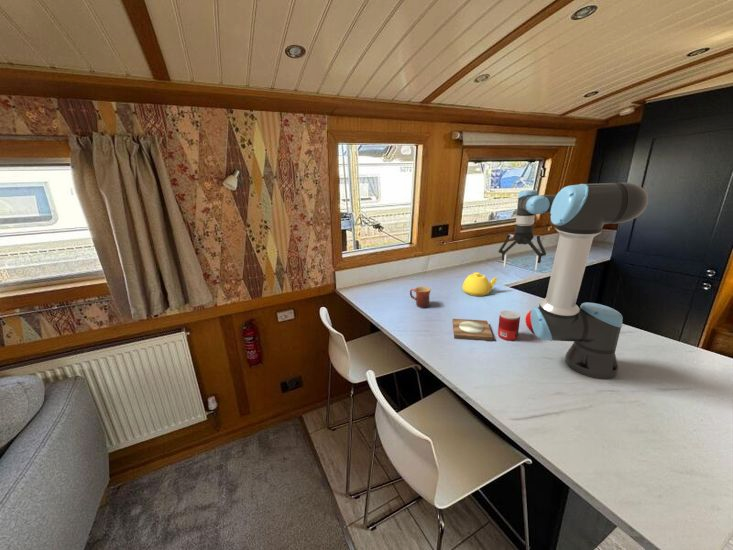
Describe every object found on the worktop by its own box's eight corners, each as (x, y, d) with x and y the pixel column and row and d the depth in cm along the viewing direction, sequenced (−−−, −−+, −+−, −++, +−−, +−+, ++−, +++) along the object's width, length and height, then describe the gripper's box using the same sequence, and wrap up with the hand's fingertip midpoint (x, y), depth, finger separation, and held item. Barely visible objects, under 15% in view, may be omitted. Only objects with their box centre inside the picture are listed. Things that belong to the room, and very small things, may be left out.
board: (492, 341, 124) (493, 336, 123) (454, 338, 128) (454, 333, 127) (486, 324, 139) (487, 319, 138) (452, 322, 142) (452, 318, 142)
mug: (432, 304, 165) (432, 287, 162) (428, 310, 158) (428, 292, 154) (412, 301, 170) (412, 285, 167) (407, 306, 163) (407, 290, 160)
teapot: (463, 296, 173) (464, 276, 170) (460, 286, 191) (461, 267, 187) (498, 298, 169) (500, 277, 165) (493, 287, 186) (494, 268, 182)
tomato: (550, 328, 132) (554, 307, 128) (551, 339, 123) (554, 316, 120) (524, 324, 137) (527, 303, 134) (523, 333, 128) (526, 312, 125)
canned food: (519, 341, 122) (522, 318, 119) (499, 340, 124) (502, 317, 121) (514, 332, 130) (517, 310, 126) (495, 332, 131) (498, 310, 128)
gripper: (556, 224, 130) (549, 268, 136) (497, 223, 143) (493, 263, 150) (556, 226, 124) (549, 272, 130) (494, 224, 137) (491, 267, 144)
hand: (519, 268), depth 140 cm, fingers open, 13 cm apart
